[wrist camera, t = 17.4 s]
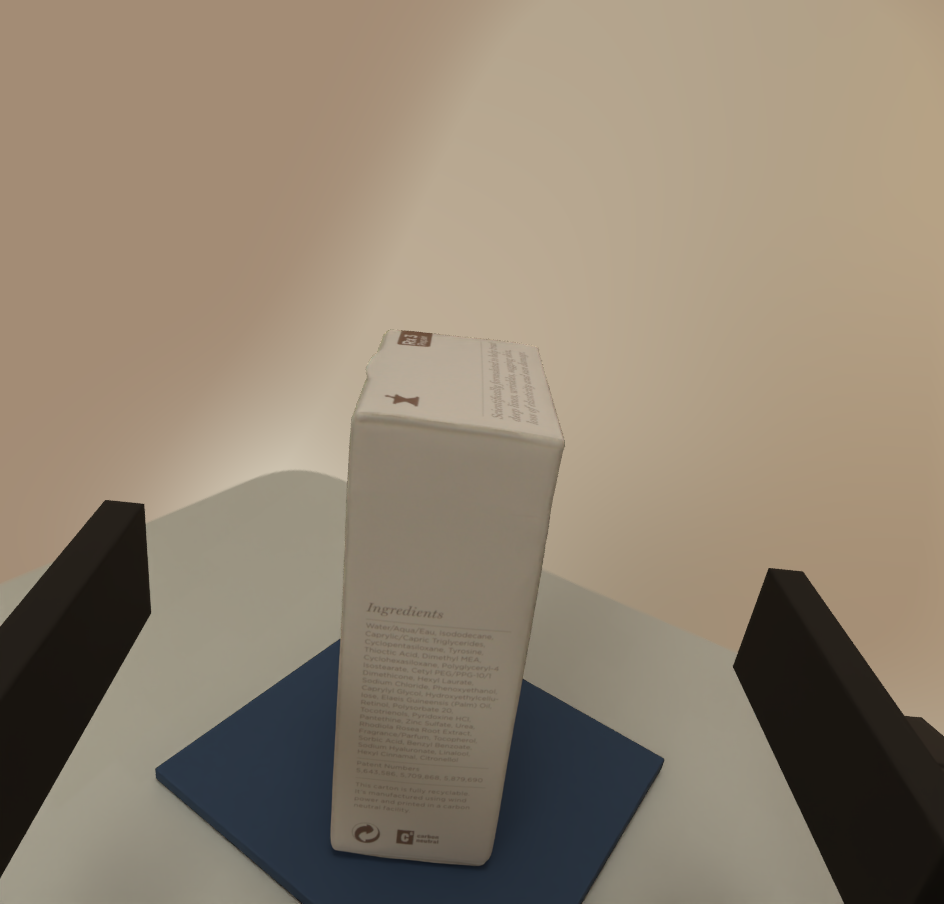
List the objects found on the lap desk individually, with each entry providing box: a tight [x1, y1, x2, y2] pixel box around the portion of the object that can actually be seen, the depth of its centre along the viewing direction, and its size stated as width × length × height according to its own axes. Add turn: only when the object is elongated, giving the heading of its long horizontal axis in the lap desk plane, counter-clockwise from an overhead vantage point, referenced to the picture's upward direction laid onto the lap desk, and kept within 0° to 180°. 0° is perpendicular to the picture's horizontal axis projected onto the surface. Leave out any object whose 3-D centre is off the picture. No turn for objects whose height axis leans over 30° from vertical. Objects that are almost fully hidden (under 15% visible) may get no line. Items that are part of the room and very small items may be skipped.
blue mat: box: [155, 639, 664, 904], centre depth 22 cm, size 11×10×1 cm
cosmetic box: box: [331, 330, 565, 866], centre depth 19 cm, size 6×4×12 cm
